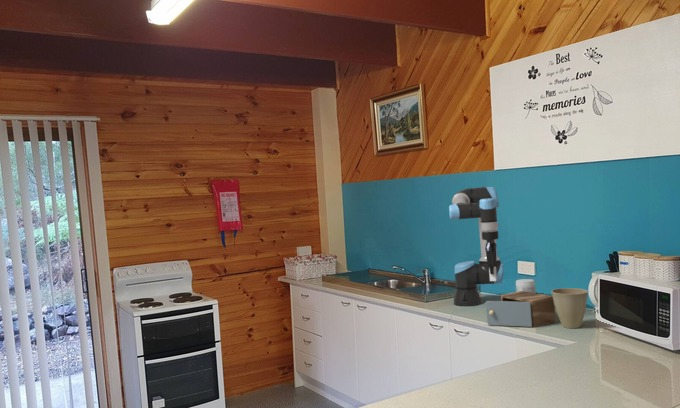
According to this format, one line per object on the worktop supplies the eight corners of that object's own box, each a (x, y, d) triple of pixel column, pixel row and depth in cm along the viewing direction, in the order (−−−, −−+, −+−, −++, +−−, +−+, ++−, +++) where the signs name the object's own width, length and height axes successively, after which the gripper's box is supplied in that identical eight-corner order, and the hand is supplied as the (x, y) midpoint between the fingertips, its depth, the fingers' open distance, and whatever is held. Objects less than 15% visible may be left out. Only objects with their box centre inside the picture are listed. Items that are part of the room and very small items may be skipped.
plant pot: (587, 331, 229) (584, 294, 228) (550, 329, 237) (548, 293, 236) (592, 323, 241) (590, 288, 241) (557, 321, 249) (555, 287, 249)
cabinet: (502, 319, 260) (500, 295, 260) (523, 314, 266) (522, 290, 266) (534, 327, 242) (532, 300, 242) (556, 321, 248) (554, 296, 248)
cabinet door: (532, 326, 243) (530, 301, 242) (531, 327, 240) (529, 303, 240) (488, 324, 252) (486, 300, 252) (486, 325, 250) (485, 302, 249)
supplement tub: (540, 307, 279) (538, 279, 279) (531, 311, 273) (529, 282, 273) (523, 305, 286) (521, 278, 286) (514, 309, 280) (512, 281, 280)
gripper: (494, 232, 245) (498, 283, 246) (501, 229, 258) (504, 278, 258) (478, 232, 249) (481, 283, 249) (485, 230, 261) (488, 278, 262)
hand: (493, 280), depth 254 cm, fingers closed
